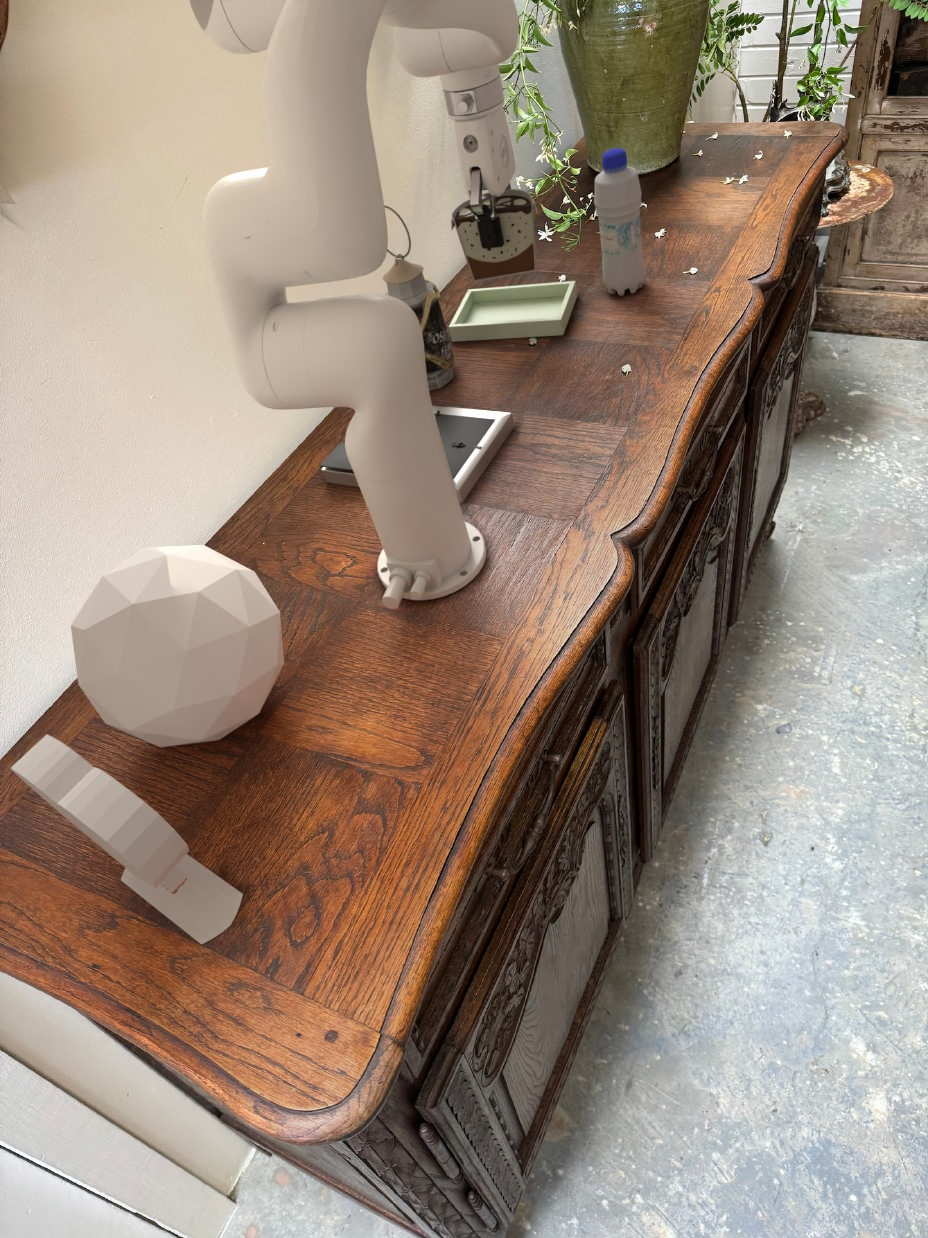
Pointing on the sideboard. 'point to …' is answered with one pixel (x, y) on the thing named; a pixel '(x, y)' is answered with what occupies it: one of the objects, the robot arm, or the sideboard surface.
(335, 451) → the picture frame
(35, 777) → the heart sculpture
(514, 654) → the sideboard surface
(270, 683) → the ball
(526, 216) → the food container
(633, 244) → the bottle
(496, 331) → the tray
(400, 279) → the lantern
